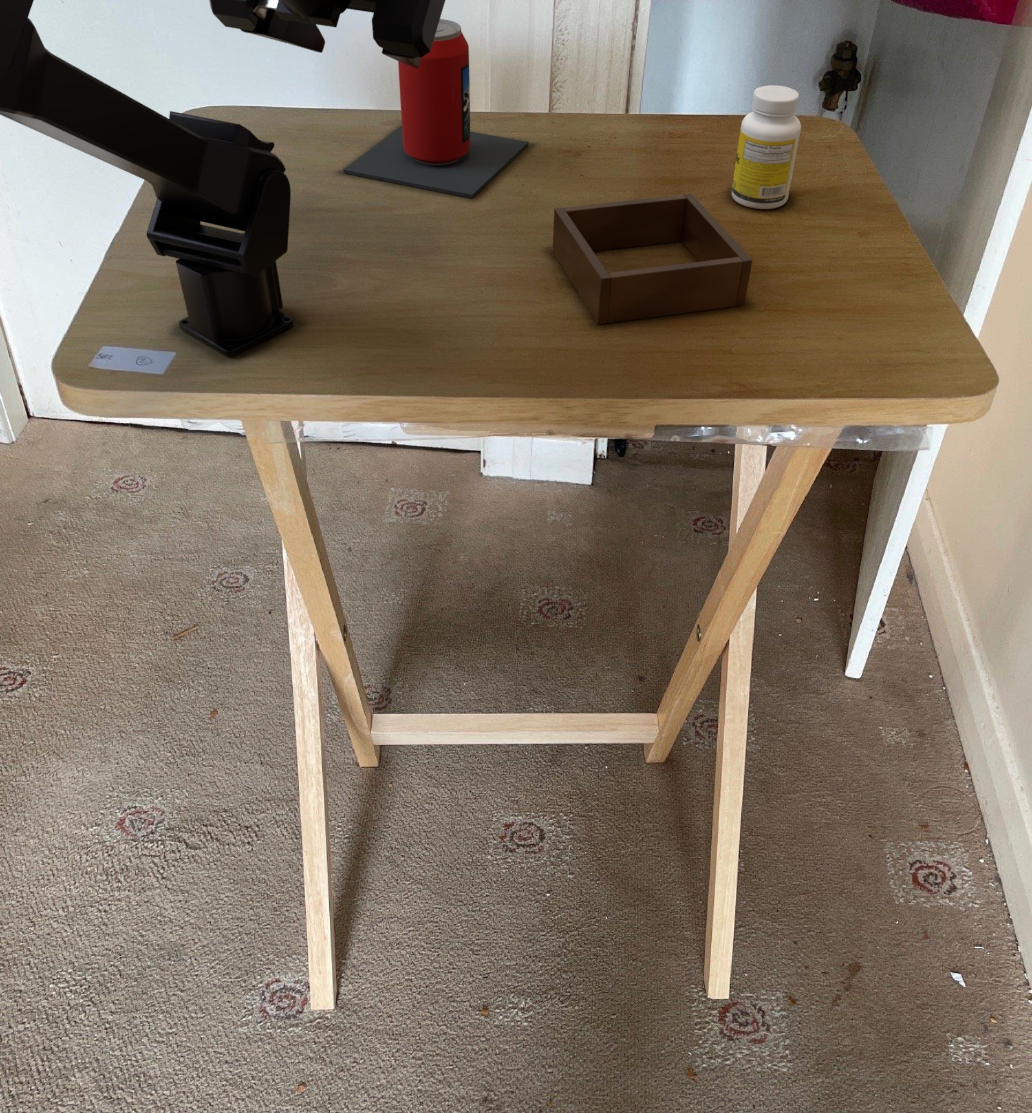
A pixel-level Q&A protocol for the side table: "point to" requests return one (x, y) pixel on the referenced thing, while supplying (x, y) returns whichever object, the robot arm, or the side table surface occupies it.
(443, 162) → the beverage can
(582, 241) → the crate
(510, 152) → the mat
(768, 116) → the supplement bottle
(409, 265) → the side table surface
